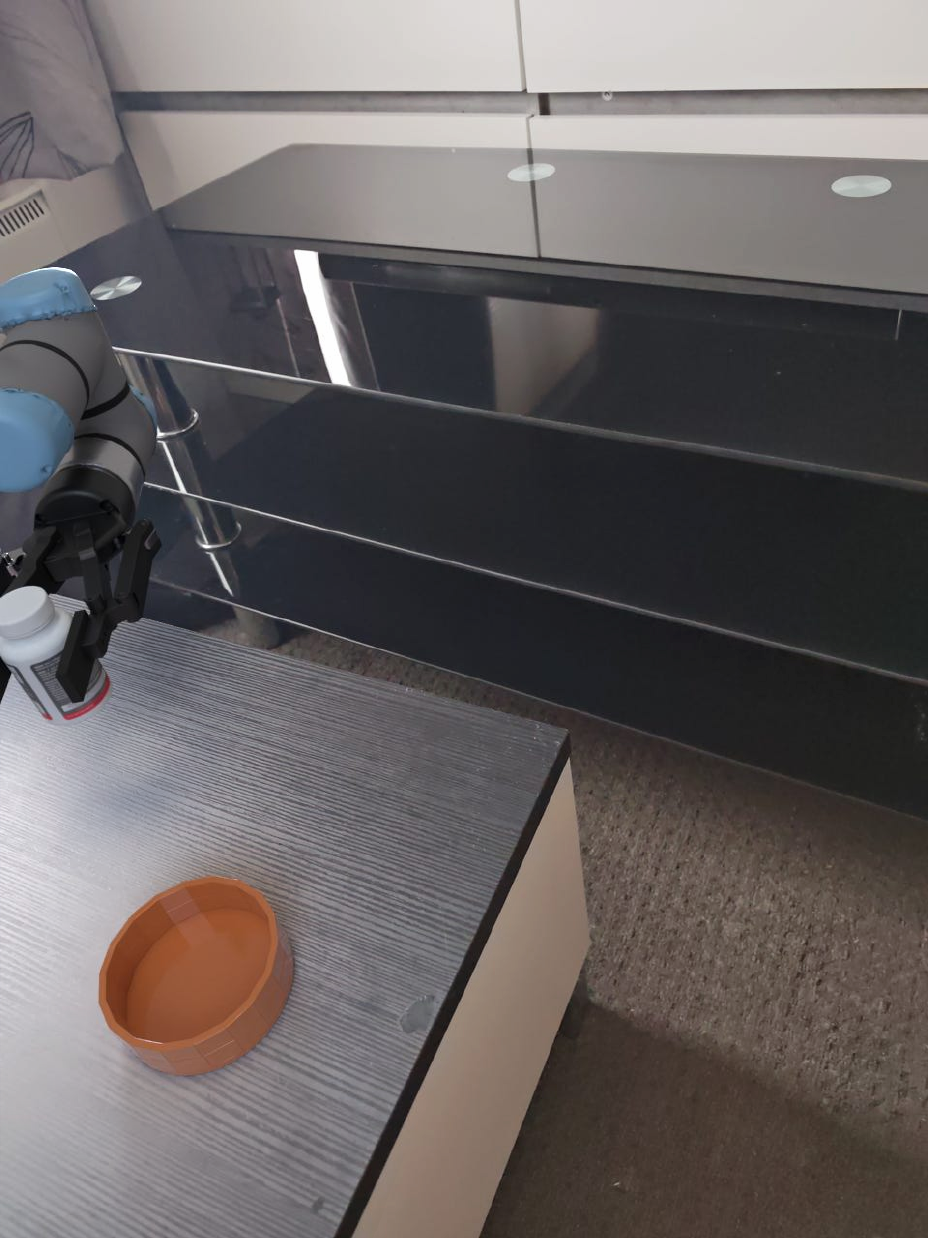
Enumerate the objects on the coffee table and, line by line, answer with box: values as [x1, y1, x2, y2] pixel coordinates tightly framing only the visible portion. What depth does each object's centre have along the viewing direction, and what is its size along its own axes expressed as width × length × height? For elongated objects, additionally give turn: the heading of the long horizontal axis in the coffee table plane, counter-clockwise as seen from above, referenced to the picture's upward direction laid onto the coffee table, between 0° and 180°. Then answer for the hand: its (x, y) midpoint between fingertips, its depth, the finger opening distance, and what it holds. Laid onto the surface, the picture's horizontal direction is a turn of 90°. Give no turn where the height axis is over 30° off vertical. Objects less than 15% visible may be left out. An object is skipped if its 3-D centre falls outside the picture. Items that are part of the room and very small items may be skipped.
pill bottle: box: [0, 586, 114, 727], centre depth 65 cm, size 5×5×10 cm
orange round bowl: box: [97, 875, 295, 1077], centre depth 62 cm, size 12×12×4 cm
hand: (24, 697), depth 61 cm, fingers closed on pill bottle, 5 cm apart
